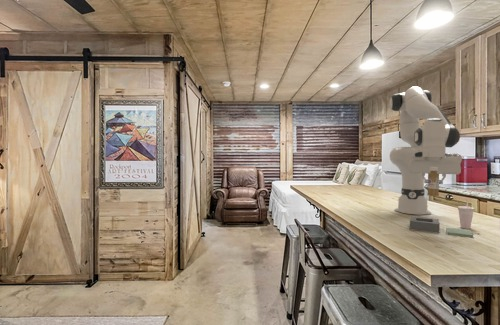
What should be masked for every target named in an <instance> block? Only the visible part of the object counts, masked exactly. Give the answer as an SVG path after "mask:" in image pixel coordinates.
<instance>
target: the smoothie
mask: <svg viewBox="0 0 500 325" xmlns="http://www.w3.org/2000/svg"><path fill="white" fill-rule="evenodd" d="M457 210H458V217H459V224H460V229H464V230H471V227H472V221H473V216H474V211H475V207H472V206H469V198H467V197H466V205H464V206H463V205H462V206H461V205H459V206H457Z"/></svg>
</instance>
